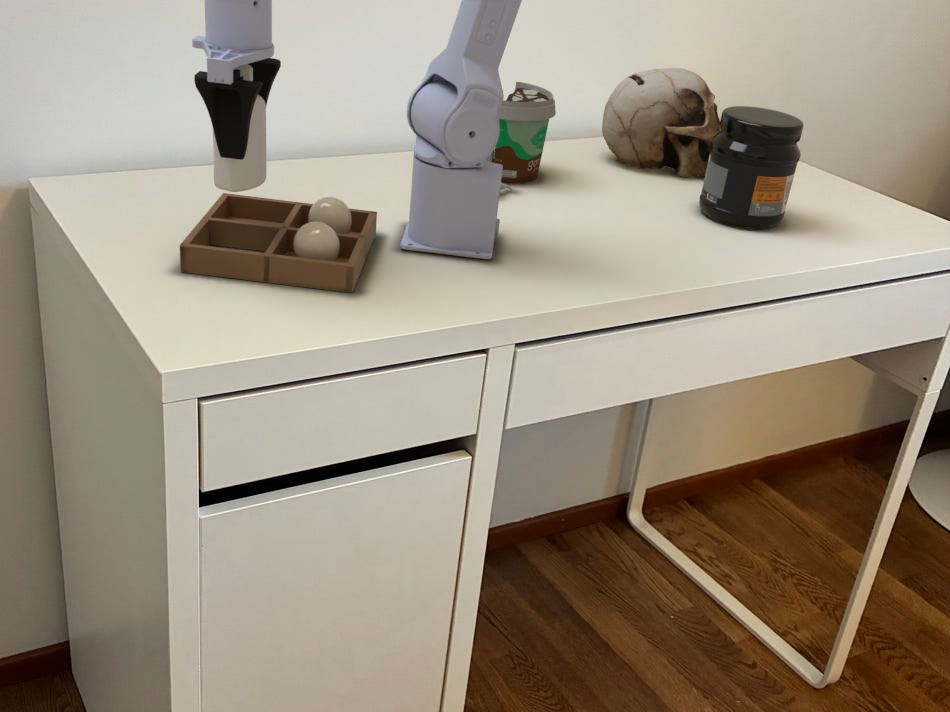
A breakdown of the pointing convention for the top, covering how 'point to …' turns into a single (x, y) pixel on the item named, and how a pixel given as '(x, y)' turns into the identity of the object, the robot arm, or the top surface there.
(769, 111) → the supplement container
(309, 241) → the egg near right
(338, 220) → the egg near left
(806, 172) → the top surface
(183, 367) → the top surface
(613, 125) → the coin bank
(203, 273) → the wooden compartment tray
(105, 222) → the top surface
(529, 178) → the food container
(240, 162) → the eye dropper bottle
